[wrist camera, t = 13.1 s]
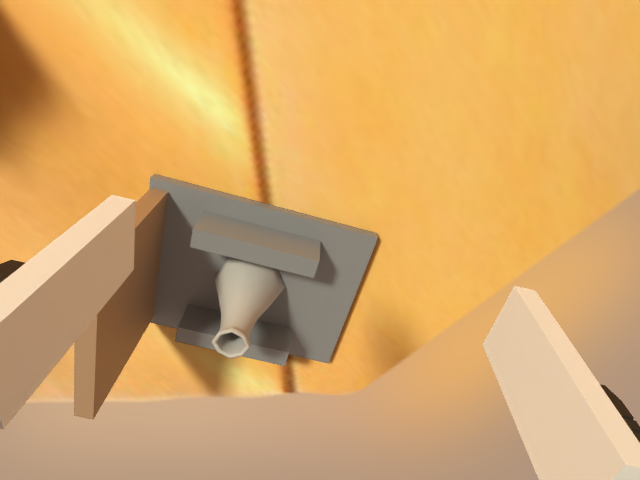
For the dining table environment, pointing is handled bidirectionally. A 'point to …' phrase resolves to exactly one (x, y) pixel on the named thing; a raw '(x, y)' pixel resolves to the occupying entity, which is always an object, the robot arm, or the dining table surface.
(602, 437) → the robot arm
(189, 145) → the dining table surface
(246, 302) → the flask
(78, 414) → the shaker holder
